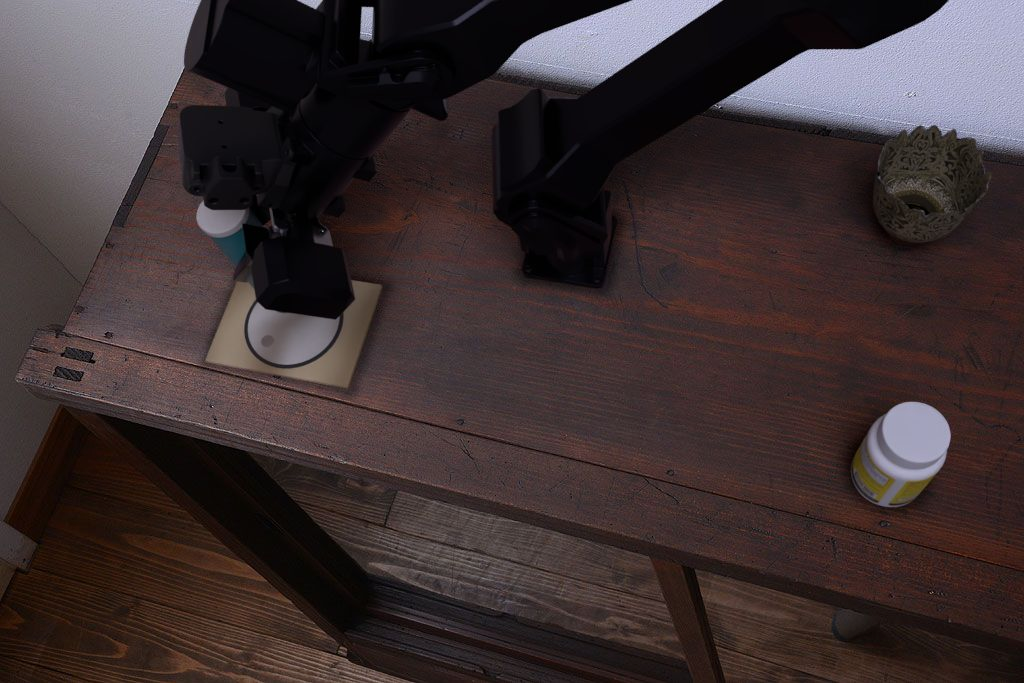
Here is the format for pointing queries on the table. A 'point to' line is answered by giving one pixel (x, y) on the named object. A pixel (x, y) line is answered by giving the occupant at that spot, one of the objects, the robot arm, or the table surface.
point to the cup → (927, 184)
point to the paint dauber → (227, 230)
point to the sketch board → (294, 338)
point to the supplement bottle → (901, 454)
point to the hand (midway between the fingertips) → (236, 259)
